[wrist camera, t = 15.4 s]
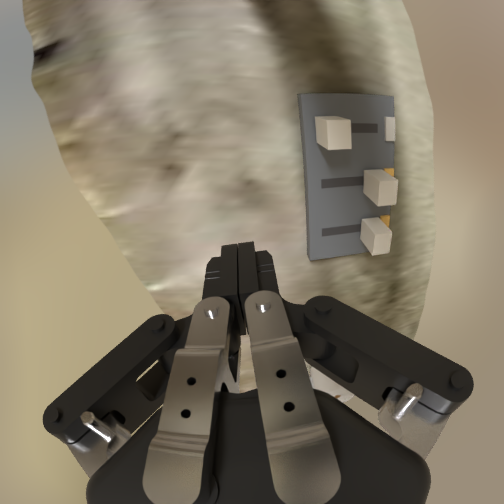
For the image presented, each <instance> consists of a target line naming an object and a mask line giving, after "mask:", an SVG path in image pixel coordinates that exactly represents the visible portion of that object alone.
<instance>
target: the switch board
mask: <svg viewBox="0 0 504 504" xmlns="http://www.w3.org/2000/svg"><path fill="white" fill-rule="evenodd" d="M297 95H298V104H299V114H300V125H301V136H302V149H303V163H304V179H305V199H306V224H307V255H308V257H309V260H310V261H311V260H318V259H325V258H332V257H338V256H345V255H352V254H358V253H365V252H369V250H368V249H367V247H366V246H365V245H364V243H363V242H362V240H361V239H360V235H361V223H362V219H366V218H375V217H379V218H380V220H381V221H382V222H383V223H384V224H385V225H386V226H387V227H388V228H389V220H390V207H391V205H387V206H377V205H376V204H375V203H374V202H373V201H372V200H371V199H369V198H368V197H367V196H366V195H365V194H364V193H363V187H364V170H375V169H382V170H383V171H385V172H387V173H388V174H390V175H391V176H393V177H394V141H395V117H394V97H393V96H384V95H370V94H350V93H310V94H297ZM318 116H338V117H342V118H346V119H349V120H351V144H352V149H338V150H327V149H326V148H324V147H323V146H321V145H320V144H318V143H317V140H316V126H315V117H318Z"/></svg>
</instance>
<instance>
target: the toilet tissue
mask: <svg viewBox="0 0 504 504" xmlns="http://www.w3.org/2000/svg"><path fill="white" fill-rule="evenodd" d="M310 375H311V377H310V376H309V378H310V381H311V384H312V387H313V389H317V390H321V391H324V392H326V393H328V394H330V395H332V396H334V397H335V398H337V399H338V400H339V401H341V402H342V403H344V402H346V401H348V400H350V399H351V398H353V397H354V396H355V395H354V394H353V393H351V392H349V391H348V390H346V389H345V388H343V387H342V386H340V385H339V384H337V383H336V382H334V381H333V380H331V379H330V378H328V377H327V376H326V375H324V374H323V373H321V372H320V371H318V370H317V369H315V368H314V367H311V369H310Z"/></svg>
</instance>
